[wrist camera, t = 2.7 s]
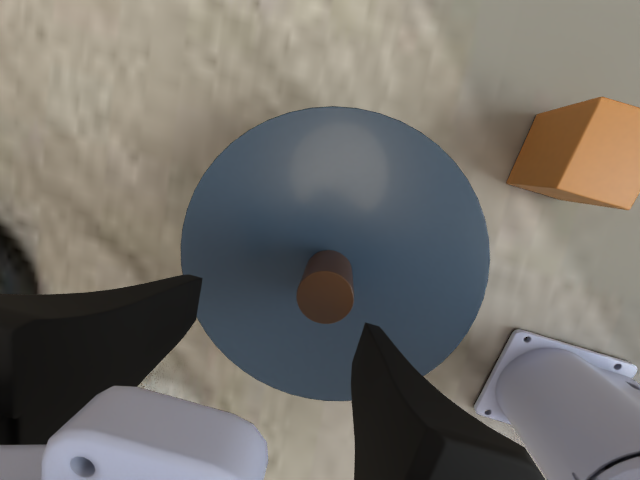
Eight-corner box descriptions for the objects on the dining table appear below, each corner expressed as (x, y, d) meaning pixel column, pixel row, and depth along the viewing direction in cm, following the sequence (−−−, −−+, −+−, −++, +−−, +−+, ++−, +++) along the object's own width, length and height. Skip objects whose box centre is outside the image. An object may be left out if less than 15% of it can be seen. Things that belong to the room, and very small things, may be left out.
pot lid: (535, 163, 15) (611, 162, 11) (416, 420, 20) (437, 491, 15) (219, 69, 15) (170, 31, 11) (170, 344, 20) (121, 394, 15)
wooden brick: (596, 131, 19) (682, 119, 14) (561, 200, 20) (630, 210, 15) (536, 113, 19) (601, 95, 14) (505, 183, 20) (556, 188, 15)
